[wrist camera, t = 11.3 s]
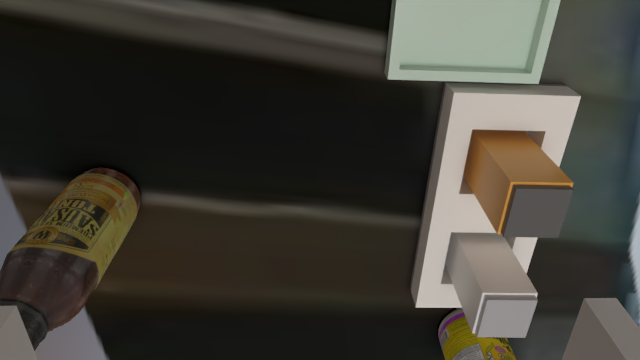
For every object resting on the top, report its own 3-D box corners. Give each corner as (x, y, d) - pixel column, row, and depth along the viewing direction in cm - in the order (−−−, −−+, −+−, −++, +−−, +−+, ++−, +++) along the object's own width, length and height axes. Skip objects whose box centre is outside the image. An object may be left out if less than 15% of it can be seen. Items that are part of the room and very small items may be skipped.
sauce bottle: (137, 162, 44) (30, 334, 27) (148, 222, 47) (60, 410, 30) (61, 163, 44) (-96, 337, 27) (77, 223, 47) (-53, 413, 30)
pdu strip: (444, 80, 41) (453, 92, 39) (563, 83, 42) (581, 96, 39) (409, 286, 52) (415, 307, 49) (505, 287, 53) (515, 308, 50)
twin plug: (451, 224, 48) (485, 298, 39) (497, 225, 48) (540, 298, 39) (444, 261, 50) (474, 338, 41) (487, 262, 50) (527, 339, 41)
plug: (470, 127, 43) (514, 186, 34) (521, 128, 43) (577, 187, 34) (461, 172, 45) (500, 239, 36) (510, 173, 45) (560, 240, 36)
